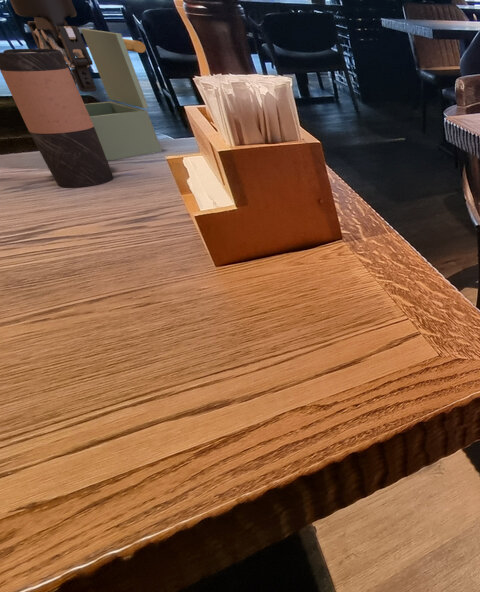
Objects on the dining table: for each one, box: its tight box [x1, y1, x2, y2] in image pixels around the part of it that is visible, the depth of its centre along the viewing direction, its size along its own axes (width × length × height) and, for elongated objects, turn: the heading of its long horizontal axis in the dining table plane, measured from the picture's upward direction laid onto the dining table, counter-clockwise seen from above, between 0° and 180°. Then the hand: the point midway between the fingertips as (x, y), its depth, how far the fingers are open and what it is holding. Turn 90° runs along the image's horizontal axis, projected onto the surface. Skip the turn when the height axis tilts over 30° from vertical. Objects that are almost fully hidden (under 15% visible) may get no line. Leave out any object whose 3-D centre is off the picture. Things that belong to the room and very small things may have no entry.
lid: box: [80, 28, 149, 109], centre depth 99 cm, size 12×15×5 cm
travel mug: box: [0, 48, 114, 188], centre depth 83 cm, size 8×8×20 cm
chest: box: [84, 100, 163, 161], centre depth 98 cm, size 12×15×9 cm
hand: (78, 88), depth 94 cm, fingers open, 8 cm apart
